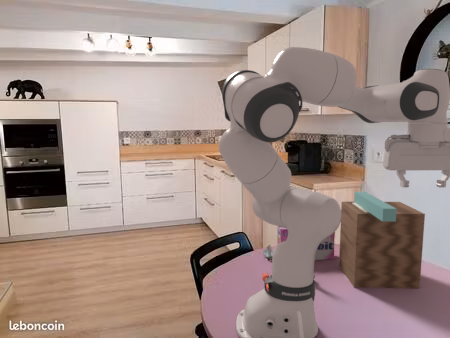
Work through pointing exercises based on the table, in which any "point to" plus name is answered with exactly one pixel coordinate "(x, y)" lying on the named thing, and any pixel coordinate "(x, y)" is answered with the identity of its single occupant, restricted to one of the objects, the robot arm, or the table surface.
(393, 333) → the table surface
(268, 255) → the pacifier
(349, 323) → the table surface
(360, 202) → the beam
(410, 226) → the stand
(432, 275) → the table surface
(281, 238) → the gum box
